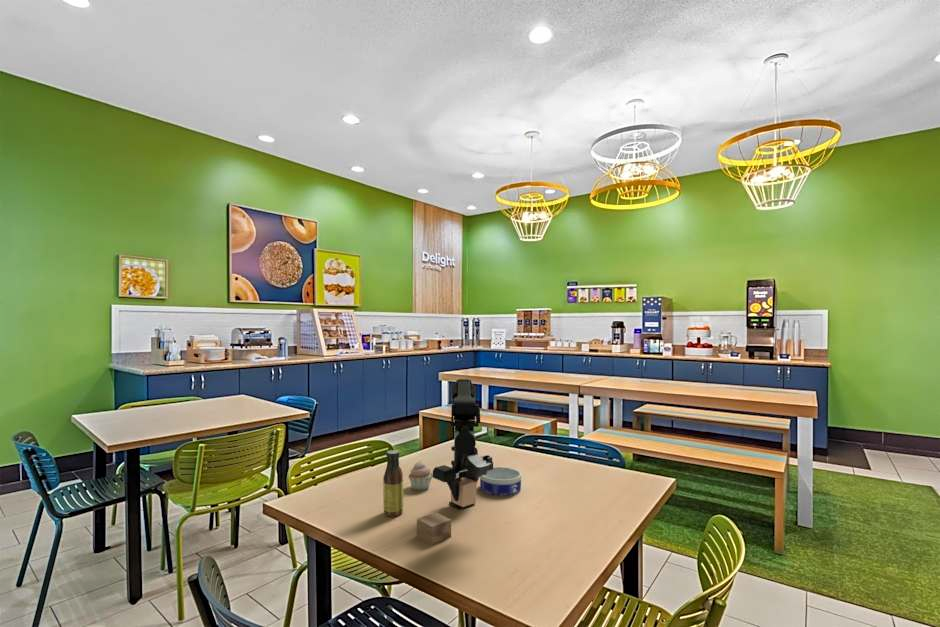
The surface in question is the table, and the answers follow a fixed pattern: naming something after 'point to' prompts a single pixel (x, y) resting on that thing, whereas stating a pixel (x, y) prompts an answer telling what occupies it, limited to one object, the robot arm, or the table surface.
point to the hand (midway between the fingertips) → (463, 498)
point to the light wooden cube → (466, 492)
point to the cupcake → (420, 476)
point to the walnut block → (434, 528)
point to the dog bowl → (501, 481)
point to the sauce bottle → (393, 485)
